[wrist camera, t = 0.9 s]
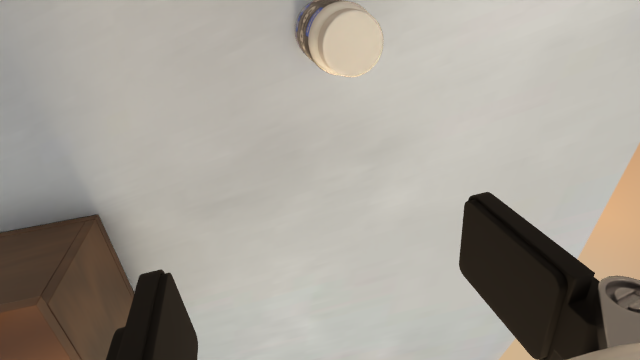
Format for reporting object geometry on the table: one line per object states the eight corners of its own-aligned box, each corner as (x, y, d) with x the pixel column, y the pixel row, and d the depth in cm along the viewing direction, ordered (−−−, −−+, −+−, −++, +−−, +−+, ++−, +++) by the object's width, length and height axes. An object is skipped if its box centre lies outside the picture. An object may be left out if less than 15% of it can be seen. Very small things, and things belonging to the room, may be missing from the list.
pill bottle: (293, -3, 29) (317, 0, 21) (352, -1, 30) (394, 2, 22) (294, 61, 31) (315, 84, 23) (348, 60, 32) (385, 82, 24)
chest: (-62, 244, 31) (-187, 354, 22) (98, 214, 33) (47, 304, 24) (21, 357, 38) (-46, 477, 29) (149, 326, 40) (126, 431, 30)
